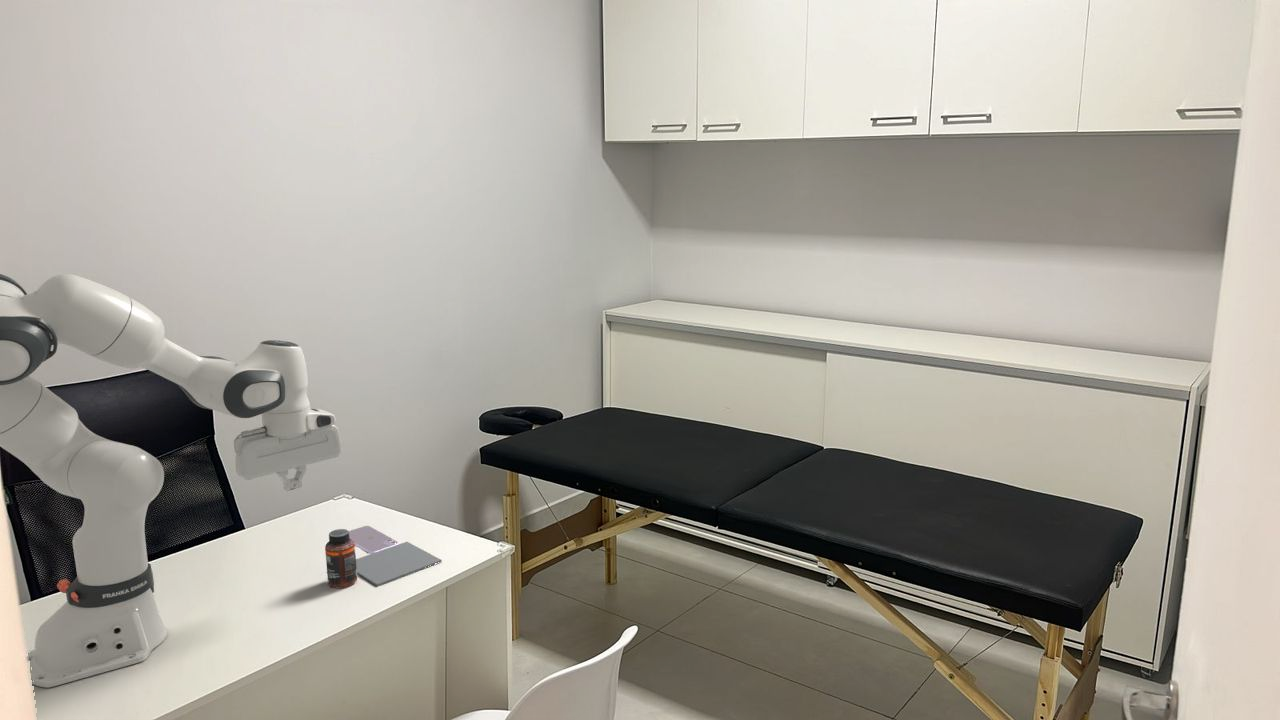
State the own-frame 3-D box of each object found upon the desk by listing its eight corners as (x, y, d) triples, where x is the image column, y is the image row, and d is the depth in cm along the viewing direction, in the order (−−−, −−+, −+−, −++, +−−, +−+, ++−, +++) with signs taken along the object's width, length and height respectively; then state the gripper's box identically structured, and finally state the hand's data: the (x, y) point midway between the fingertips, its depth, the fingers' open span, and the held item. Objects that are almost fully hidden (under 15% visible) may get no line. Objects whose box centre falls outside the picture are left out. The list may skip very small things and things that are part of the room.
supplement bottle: (362, 576, 189) (358, 527, 186) (350, 589, 183) (347, 539, 181) (335, 575, 190) (331, 526, 187) (323, 588, 184) (319, 537, 181)
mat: (377, 586, 185) (377, 584, 184) (343, 565, 194) (343, 563, 194) (441, 562, 196) (441, 560, 196) (407, 543, 205) (407, 541, 205)
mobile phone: (367, 523, 215) (401, 542, 205) (368, 527, 215) (401, 546, 205) (338, 533, 209) (371, 552, 199) (339, 536, 210) (371, 556, 199)
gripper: (240, 437, 162) (247, 507, 165) (343, 414, 177) (347, 479, 180) (226, 429, 166) (233, 498, 170) (327, 408, 181) (332, 471, 184)
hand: (293, 488), depth 175 cm, fingers closed
